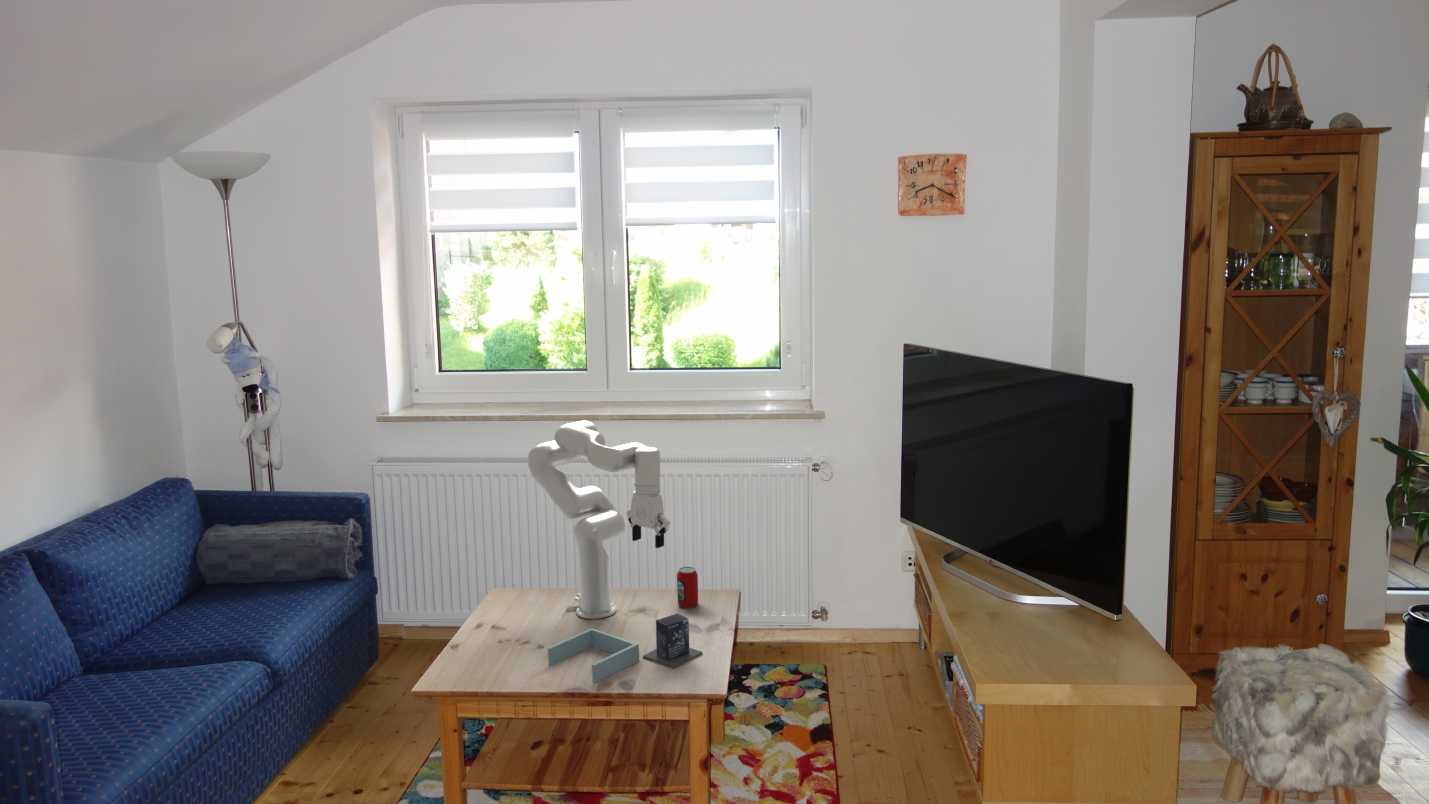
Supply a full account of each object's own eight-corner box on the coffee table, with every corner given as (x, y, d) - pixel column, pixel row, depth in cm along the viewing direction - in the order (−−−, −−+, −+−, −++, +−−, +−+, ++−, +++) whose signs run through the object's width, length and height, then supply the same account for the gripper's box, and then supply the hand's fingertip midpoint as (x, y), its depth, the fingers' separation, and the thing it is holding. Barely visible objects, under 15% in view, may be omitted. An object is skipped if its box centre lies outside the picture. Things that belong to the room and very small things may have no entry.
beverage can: (677, 601, 308) (676, 566, 306) (697, 600, 308) (696, 565, 306) (678, 609, 301) (677, 573, 299) (699, 607, 302) (698, 572, 300)
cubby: (548, 664, 263) (547, 647, 262) (592, 643, 276) (592, 627, 275) (595, 682, 251) (594, 665, 250) (639, 660, 264) (638, 643, 263)
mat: (643, 657, 266) (642, 655, 266) (671, 643, 275) (671, 641, 275) (674, 668, 258) (674, 666, 258) (702, 653, 267) (702, 651, 267)
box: (667, 661, 262) (666, 625, 260) (656, 654, 266) (654, 619, 264) (690, 653, 266) (689, 618, 265) (678, 647, 271) (677, 612, 269)
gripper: (618, 485, 281) (619, 540, 285) (659, 496, 270) (660, 552, 273) (636, 480, 287) (636, 534, 290) (677, 491, 276) (677, 546, 279)
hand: (648, 543), depth 282 cm, fingers open, 9 cm apart
